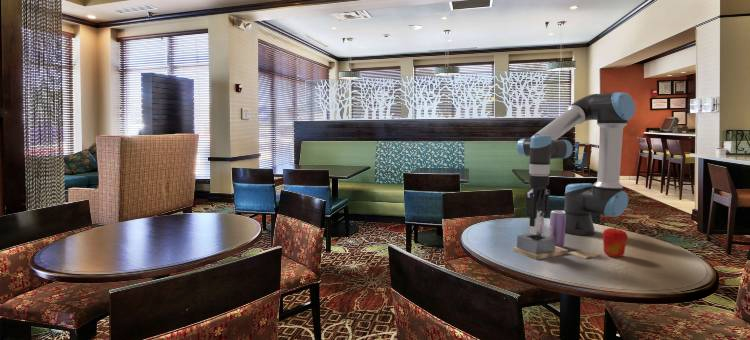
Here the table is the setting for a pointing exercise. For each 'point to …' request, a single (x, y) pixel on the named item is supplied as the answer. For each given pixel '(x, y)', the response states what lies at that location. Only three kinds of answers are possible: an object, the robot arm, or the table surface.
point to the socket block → (536, 244)
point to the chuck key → (538, 225)
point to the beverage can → (558, 227)
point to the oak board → (539, 256)
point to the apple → (614, 242)
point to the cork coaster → (583, 254)
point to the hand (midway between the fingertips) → (536, 233)
